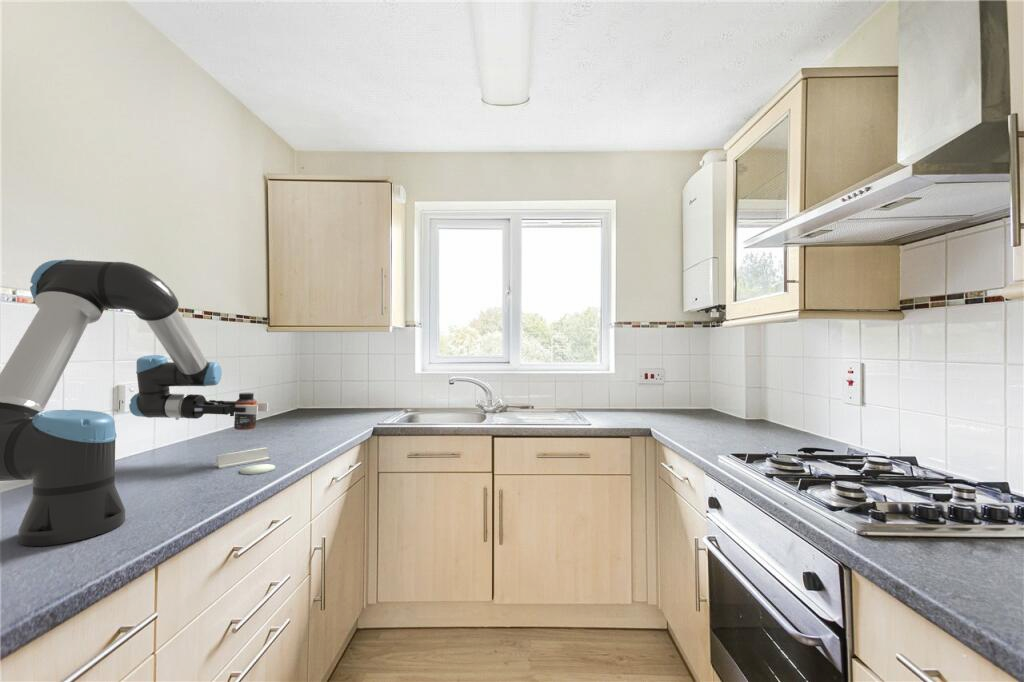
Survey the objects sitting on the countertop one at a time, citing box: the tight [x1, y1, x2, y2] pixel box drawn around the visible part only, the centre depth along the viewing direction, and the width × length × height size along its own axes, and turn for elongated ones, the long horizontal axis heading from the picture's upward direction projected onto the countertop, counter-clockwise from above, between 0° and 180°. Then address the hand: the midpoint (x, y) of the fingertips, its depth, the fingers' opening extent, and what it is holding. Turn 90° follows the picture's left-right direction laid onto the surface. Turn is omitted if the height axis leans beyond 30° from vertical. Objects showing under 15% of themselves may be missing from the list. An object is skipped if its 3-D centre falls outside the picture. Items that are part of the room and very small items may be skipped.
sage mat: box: [239, 463, 276, 476], centre depth 132 cm, size 9×9×1 cm
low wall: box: [214, 447, 271, 470], centre depth 140 cm, size 5×14×4 cm, turn 139°
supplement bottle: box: [233, 392, 258, 431], centre depth 143 cm, size 6×6×11 cm
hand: (262, 408), depth 144 cm, fingers closed on supplement bottle, 6 cm apart
